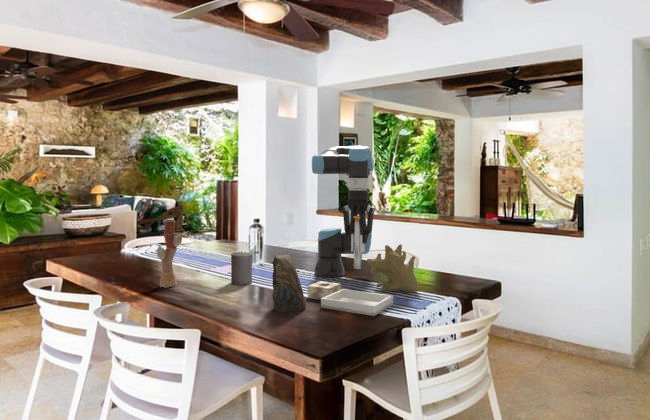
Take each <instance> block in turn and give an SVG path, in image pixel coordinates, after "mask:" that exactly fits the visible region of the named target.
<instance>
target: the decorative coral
mask: <svg viewBox="0 0 650 420" xmlns="http://www.w3.org/2000/svg"><path fill="white" fill-rule="evenodd" d="M402 249H403V246H402V244H401V243H400V244H399V245H398V246H397V247H396V248H395V250H393V248H392V247H391V246H390V245H387V244H385V246H384V251H385V253H384V257H383V258H382V254H381V253H377V255H376V258H368V259H366V263H367V264H369V265H370V266H372V268H371V269H370V274H371V275H372V274H373V275H374V274H377V273H382V274H383V276H385V277H386V278H387V279H388V281H386V282H377V283H376V284H375V285H376V287H377V288H379V289H380V292H386V291H387V292H388V291H392V292H395V291H399V290H400V291H403V292H406V293H414V292H416V291H417V289H418V286H419V285H418V284H419V283H418V280H417V277H416V275H415V273H414V269H415V268H414V267H415V260H416V256H415V255H413V256H411V258H410V259H409V260H408V262H407V263H405V261H406V259H407V253H406V251H405V250H402Z"/></svg>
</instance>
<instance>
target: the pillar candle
mask: <svg viewBox="0 0 650 420" xmlns="http://www.w3.org/2000/svg"><path fill="white" fill-rule="evenodd" d="M230 256H231V257H230V261H231V262H230V263H231V264H230V266H231V267H230V268H231V269H230V270H231V271H230V273H231V274H230V276H231V278H230V280H231V282H230V283H231V284H232V285H235V286H245V285H251V284H252V283H253V252H248V251H242V250H241V251H237V252H236V251H235V252H232V253H231V254H230Z"/></svg>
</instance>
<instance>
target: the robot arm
mask: <svg viewBox="0 0 650 420" xmlns="http://www.w3.org/2000/svg"><path fill="white" fill-rule="evenodd" d="M311 170H312V171H311V172H312V173H313V174H315V175H345V176H346V177H347V178H348V192H347V193H348V195H347V196H348V202H347V205H345V206H341V211H342V212H343V213H342V214H343V226H344V230H342V228H341V227H332V228H331V227H329V228H325V229H321V230H319V231H318V237H317V261H316V265H315V268H314V275H315V276H316V277H322V278H338V277H343V276H344V275H345V267H344V264H343V261H342V255H354V218H353V216H359V217H361V219H360V223H361V231H362V234H361V235H360V252H362V255H366V254H368V253H369V252H370V251H371V250H370V249H371V244H372V235H373V234H372V233H373V232H372V231H373V224H374V223H373V222H374V214H375V211H376V207H374V206H371V205H370V203H369V190H368V189H369V176H370V175H371V172H373V171H374V165H373V157H372V151H371V148H370V147H369V146H366V145H365V146H364V145H363V146H362V145H348V146H342V145H341V146H340V145H337V146H333V147H329V148H327V149H324V150H323V151H322V152H321V153H320V154H317V155H316V154H315V155H313V156H312V157H311ZM367 212H368V213H367Z"/></svg>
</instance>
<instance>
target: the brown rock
mask: <svg viewBox="0 0 650 420" xmlns="http://www.w3.org/2000/svg"><path fill="white" fill-rule="evenodd" d="M271 264H272V266H273V271H272V275H271V276H272V289H273V291H272V295H271V296H272V297H271V298H272V302H273V310H274V311H275V312H276V313H279V314H281V313H288V312H296V311H298V312H299V311H303V310H307V307H306V300H305V295H304V290H303V287H302V284H301V281H300V277H299V275H298V271H297V268H296V266H295V264H294V262H293V259H292V257H291V255H290V254H289V253H284V254H276V255H275V256H274V258H273V260H272V263H271Z"/></svg>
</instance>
